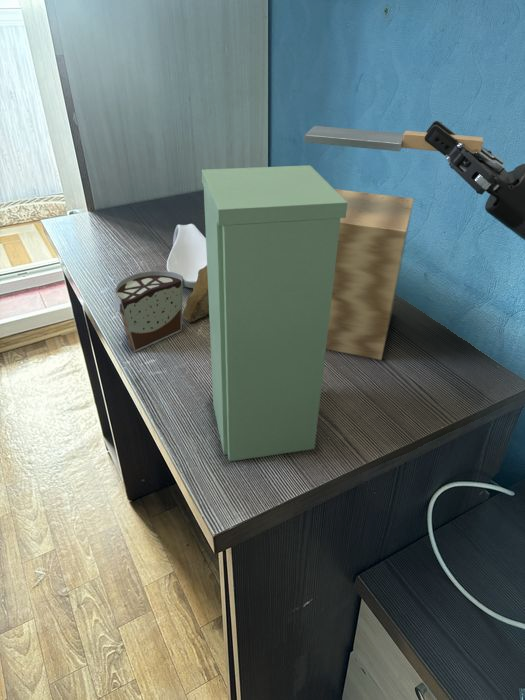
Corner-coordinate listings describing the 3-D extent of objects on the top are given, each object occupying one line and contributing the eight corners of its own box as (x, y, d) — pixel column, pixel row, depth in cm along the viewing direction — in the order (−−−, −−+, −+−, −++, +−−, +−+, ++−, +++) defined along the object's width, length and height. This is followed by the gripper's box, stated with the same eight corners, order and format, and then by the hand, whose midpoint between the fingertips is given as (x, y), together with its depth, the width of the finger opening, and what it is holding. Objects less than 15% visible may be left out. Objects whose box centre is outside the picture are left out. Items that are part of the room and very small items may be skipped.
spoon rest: (235, 292, 99) (234, 258, 94) (173, 300, 96) (170, 265, 91) (208, 243, 117) (206, 212, 113) (155, 248, 114) (152, 217, 110)
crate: (391, 316, 93) (414, 198, 80) (381, 360, 82) (406, 231, 69) (304, 301, 97) (313, 186, 84) (284, 341, 86) (291, 215, 73)
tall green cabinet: (293, 389, 75) (310, 165, 57) (318, 448, 66) (347, 202, 47) (212, 399, 73) (201, 169, 55) (225, 462, 64) (218, 209, 45)
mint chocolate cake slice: (167, 313, 92) (162, 262, 86) (189, 327, 88) (185, 274, 83) (105, 340, 85) (95, 285, 79) (126, 356, 81) (117, 300, 75)
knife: (479, 147, 70) (482, 133, 69) (480, 159, 66) (483, 144, 65) (313, 132, 76) (314, 119, 75) (303, 142, 71) (304, 128, 70)
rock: (187, 322, 85) (243, 304, 88) (170, 272, 85) (227, 256, 87) (181, 327, 96) (231, 311, 98) (166, 283, 96) (217, 268, 98)
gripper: (548, 169, 73) (450, 94, 71) (562, 201, 62) (448, 113, 60) (506, 211, 77) (414, 141, 76) (513, 247, 66) (405, 167, 65)
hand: (429, 129), depth 68 cm, fingers closed on knife, 2 cm apart
